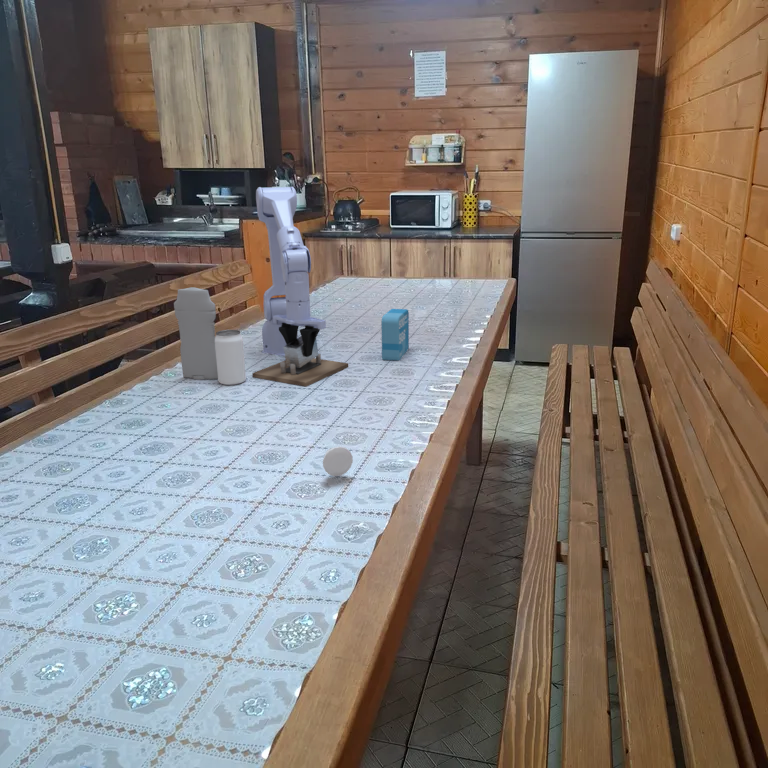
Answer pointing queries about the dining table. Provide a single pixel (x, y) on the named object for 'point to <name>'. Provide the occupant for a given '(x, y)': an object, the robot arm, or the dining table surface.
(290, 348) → the block
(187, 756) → the dining table surface
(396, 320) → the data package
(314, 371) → the pin tray
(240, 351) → the can
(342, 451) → the grey oval shape
